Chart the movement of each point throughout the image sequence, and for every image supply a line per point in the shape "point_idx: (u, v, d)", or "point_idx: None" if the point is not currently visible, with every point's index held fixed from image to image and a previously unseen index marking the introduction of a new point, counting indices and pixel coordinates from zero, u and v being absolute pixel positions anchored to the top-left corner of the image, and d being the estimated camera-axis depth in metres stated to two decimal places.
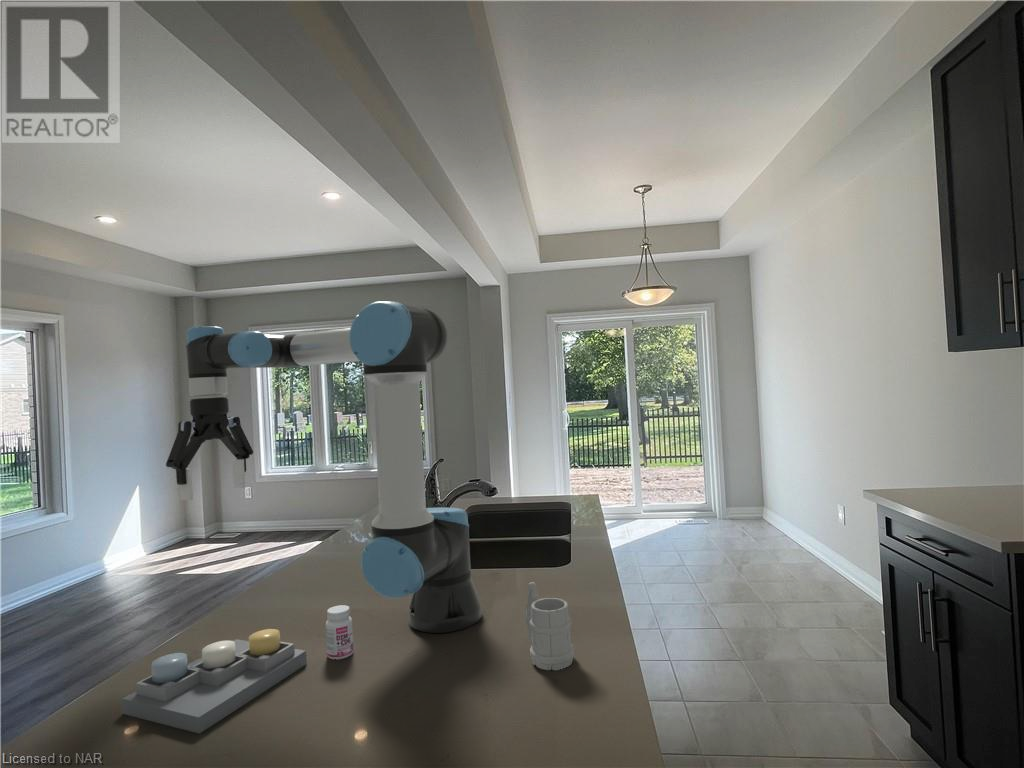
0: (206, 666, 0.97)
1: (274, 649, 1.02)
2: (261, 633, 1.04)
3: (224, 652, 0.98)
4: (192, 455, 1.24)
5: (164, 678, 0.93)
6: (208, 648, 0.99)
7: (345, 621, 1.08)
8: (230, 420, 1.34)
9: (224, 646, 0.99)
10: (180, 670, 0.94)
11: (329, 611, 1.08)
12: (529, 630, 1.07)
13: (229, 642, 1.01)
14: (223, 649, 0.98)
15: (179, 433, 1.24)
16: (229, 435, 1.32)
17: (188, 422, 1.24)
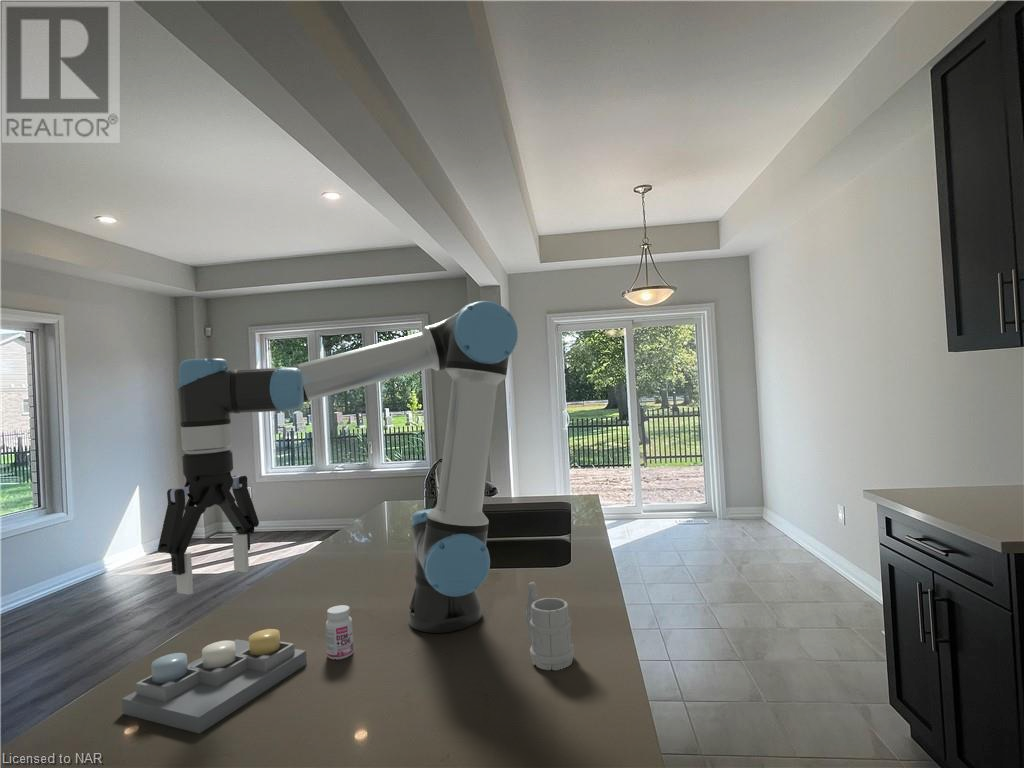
0: (206, 666, 0.97)
1: (274, 649, 1.02)
2: (261, 633, 1.04)
3: (224, 652, 0.98)
4: (190, 533, 0.94)
5: (164, 678, 0.93)
6: (208, 648, 0.99)
7: (345, 621, 1.08)
8: (235, 480, 1.04)
9: (224, 646, 0.99)
10: (180, 670, 0.94)
11: (329, 611, 1.08)
12: (529, 630, 1.07)
13: (229, 642, 1.01)
14: (223, 649, 0.98)
15: (170, 505, 0.93)
16: (232, 501, 1.01)
17: (179, 491, 0.93)
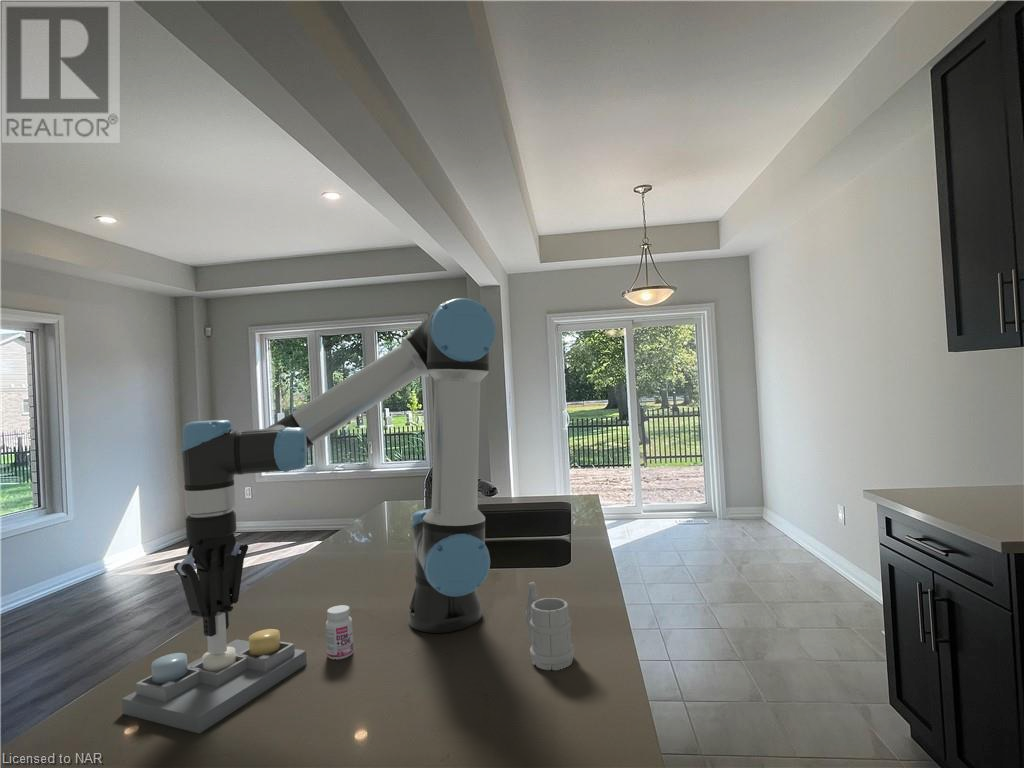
0: None
1: (274, 649, 1.02)
2: (261, 633, 1.04)
3: (224, 658, 0.98)
4: (213, 596, 0.98)
5: (164, 678, 0.93)
6: (208, 654, 0.99)
7: (345, 621, 1.08)
8: (237, 545, 1.03)
9: (224, 652, 0.99)
10: (180, 670, 0.94)
11: (329, 611, 1.08)
12: (529, 630, 1.07)
13: (229, 648, 1.01)
14: (223, 656, 0.98)
15: (183, 578, 0.95)
16: (227, 567, 1.00)
17: (186, 567, 0.93)
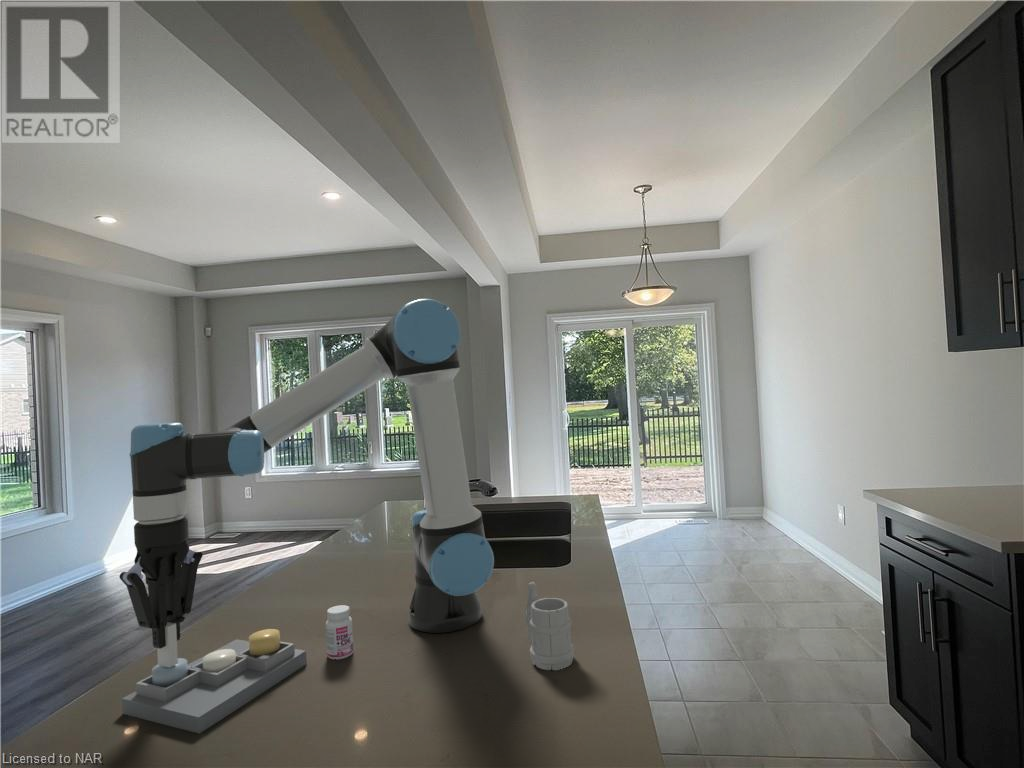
0: None
1: (274, 649, 1.02)
2: (261, 633, 1.04)
3: (224, 661, 0.98)
4: (163, 607, 0.94)
5: (164, 684, 0.93)
6: (208, 657, 0.99)
7: (345, 621, 1.08)
8: (190, 552, 0.99)
9: (224, 655, 0.99)
10: (180, 676, 0.94)
11: (329, 611, 1.08)
12: (529, 630, 1.07)
13: (229, 651, 1.01)
14: (224, 658, 0.98)
15: (129, 588, 0.91)
16: (178, 576, 0.96)
17: (131, 576, 0.89)
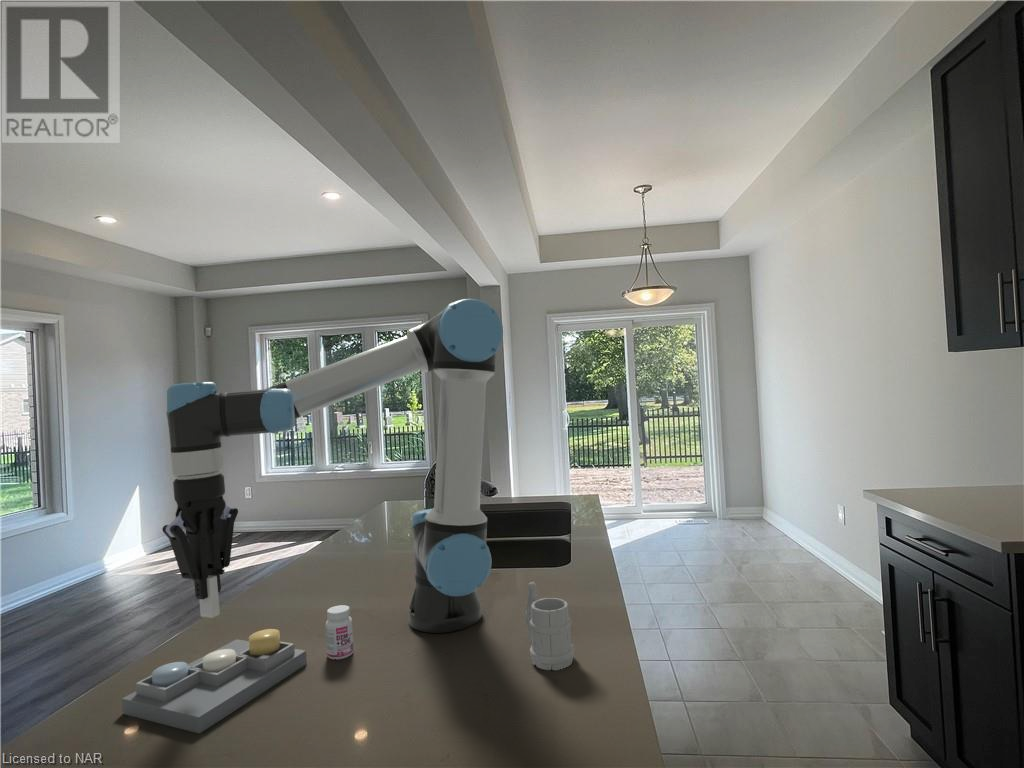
0: None
1: (274, 649, 1.02)
2: (261, 633, 1.04)
3: (224, 661, 0.98)
4: (204, 559, 0.97)
5: (165, 687, 0.93)
6: (208, 657, 0.99)
7: (345, 621, 1.08)
8: (226, 509, 1.03)
9: (224, 655, 0.99)
10: (180, 679, 0.94)
11: (329, 611, 1.08)
12: (529, 630, 1.07)
13: (229, 651, 1.01)
14: (224, 658, 0.98)
15: (172, 540, 0.94)
16: (217, 530, 0.99)
17: (174, 528, 0.92)
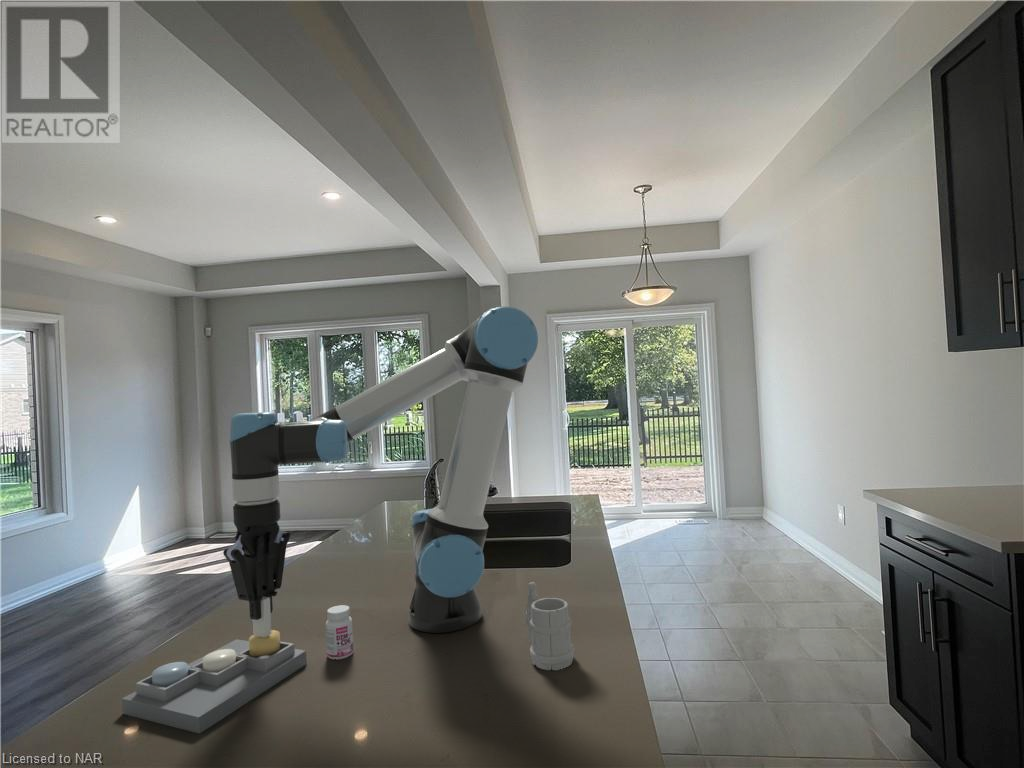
0: None
1: (274, 650, 1.02)
2: None
3: (224, 661, 0.98)
4: (259, 581, 1.02)
5: (165, 687, 0.93)
6: (208, 657, 0.99)
7: (345, 621, 1.08)
8: (279, 533, 1.07)
9: (224, 655, 0.99)
10: (180, 679, 0.94)
11: (329, 611, 1.08)
12: (529, 630, 1.07)
13: (229, 651, 1.01)
14: (224, 658, 0.98)
15: (231, 563, 0.99)
16: (271, 553, 1.04)
17: (235, 552, 0.97)
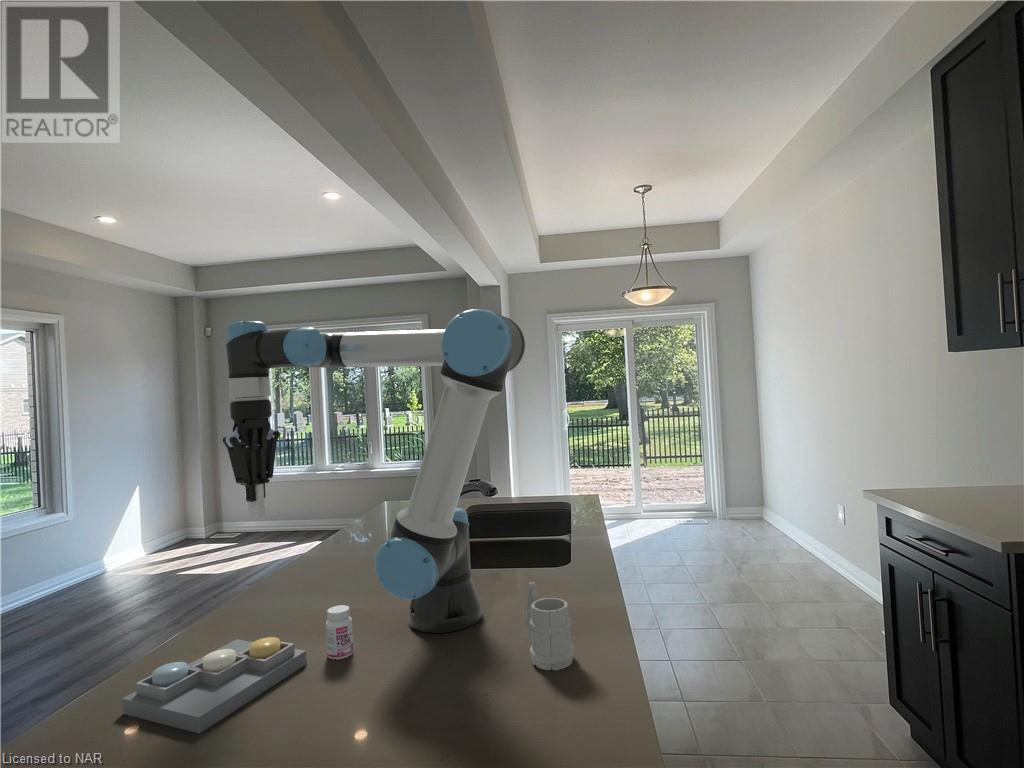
0: None
1: None
2: (261, 642, 1.04)
3: (224, 661, 0.98)
4: (254, 468, 1.17)
5: (165, 687, 0.93)
6: (208, 657, 0.99)
7: (345, 621, 1.08)
8: (270, 430, 1.22)
9: (224, 655, 0.99)
10: (180, 679, 0.94)
11: (329, 611, 1.08)
12: (529, 630, 1.07)
13: (229, 651, 1.01)
14: (224, 658, 0.98)
15: (230, 450, 1.14)
16: (264, 446, 1.19)
17: (233, 439, 1.12)
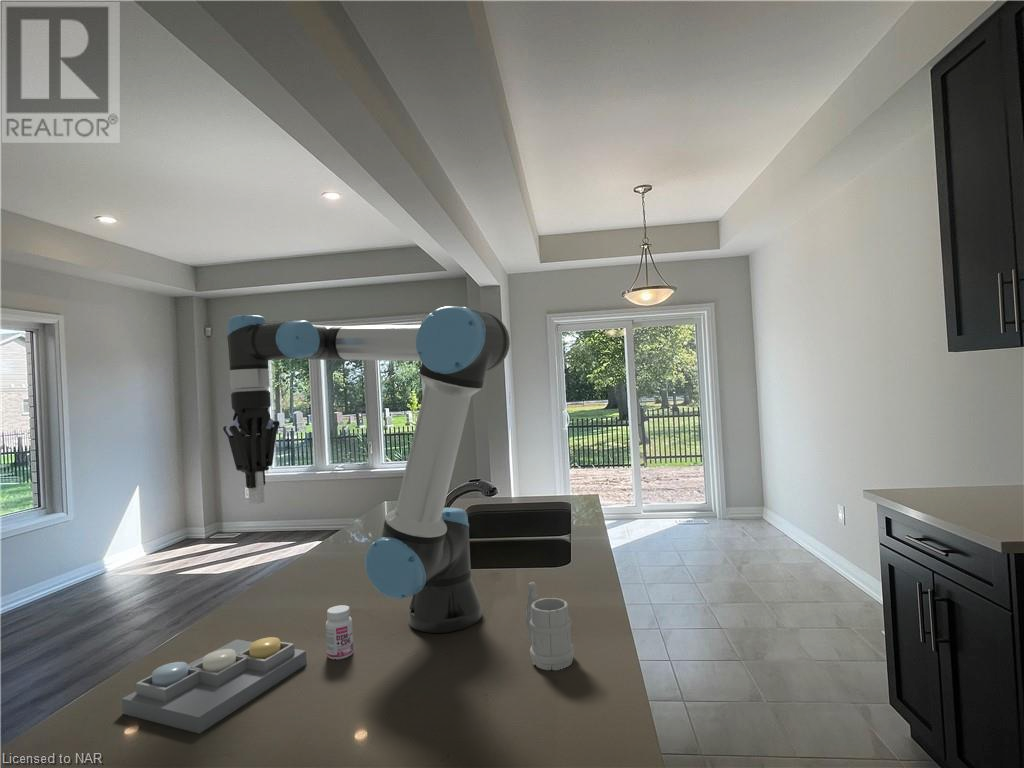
0: None
1: None
2: (261, 642, 1.04)
3: (224, 661, 0.98)
4: (254, 456, 1.22)
5: (165, 687, 0.93)
6: (208, 657, 0.99)
7: (345, 621, 1.08)
8: (270, 420, 1.27)
9: (224, 655, 0.99)
10: (180, 679, 0.94)
11: (329, 611, 1.08)
12: (529, 630, 1.07)
13: (229, 651, 1.01)
14: (224, 658, 0.98)
15: (230, 438, 1.19)
16: (264, 435, 1.24)
17: (233, 427, 1.17)
